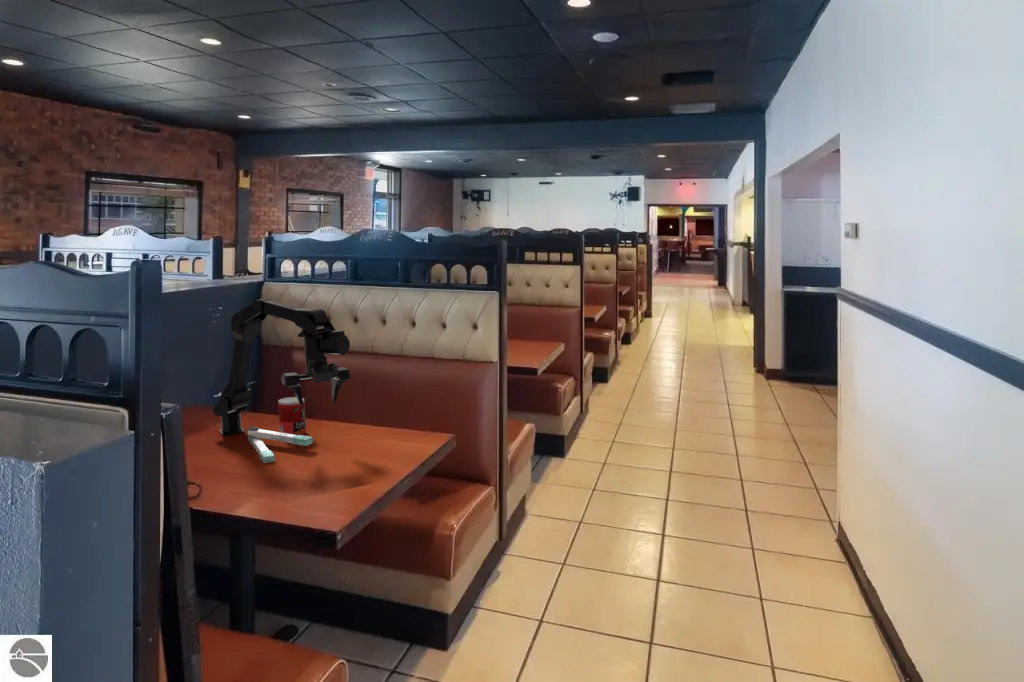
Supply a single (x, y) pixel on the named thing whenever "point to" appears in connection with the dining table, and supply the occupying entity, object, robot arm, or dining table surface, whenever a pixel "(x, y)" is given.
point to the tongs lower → (261, 449)
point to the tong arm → (279, 436)
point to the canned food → (292, 416)
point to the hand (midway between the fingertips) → (318, 405)
